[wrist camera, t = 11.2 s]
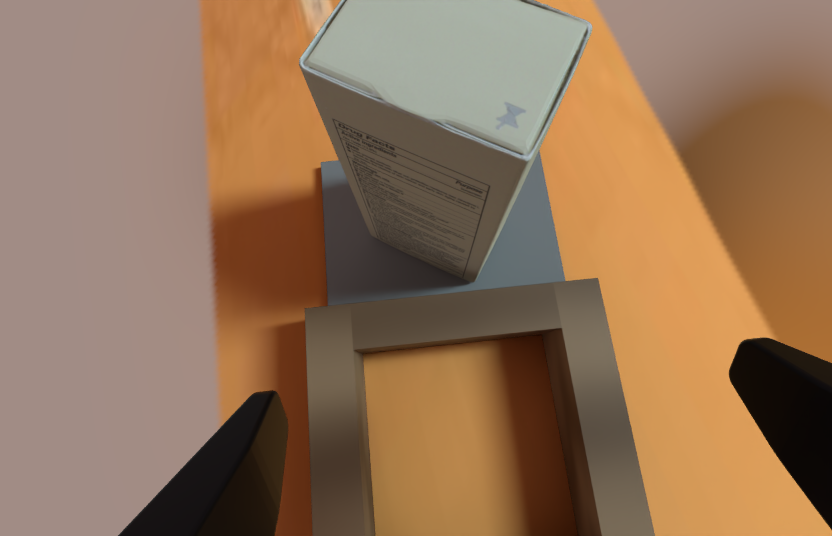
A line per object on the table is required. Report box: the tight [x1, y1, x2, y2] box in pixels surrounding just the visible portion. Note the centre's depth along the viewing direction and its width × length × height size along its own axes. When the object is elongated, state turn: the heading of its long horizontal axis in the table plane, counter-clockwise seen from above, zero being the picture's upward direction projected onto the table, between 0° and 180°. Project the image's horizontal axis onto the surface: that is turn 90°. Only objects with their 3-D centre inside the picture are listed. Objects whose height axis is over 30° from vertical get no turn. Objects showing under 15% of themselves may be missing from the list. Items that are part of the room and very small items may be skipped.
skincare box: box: [299, 0, 592, 283], centre depth 16 cm, size 6×4×12 cm
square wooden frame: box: [305, 278, 655, 536], centre depth 18 cm, size 13×13×3 cm
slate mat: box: [321, 151, 565, 306], centre depth 22 cm, size 8×12×1 cm, turn 96°
